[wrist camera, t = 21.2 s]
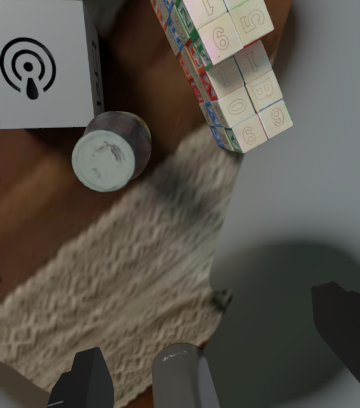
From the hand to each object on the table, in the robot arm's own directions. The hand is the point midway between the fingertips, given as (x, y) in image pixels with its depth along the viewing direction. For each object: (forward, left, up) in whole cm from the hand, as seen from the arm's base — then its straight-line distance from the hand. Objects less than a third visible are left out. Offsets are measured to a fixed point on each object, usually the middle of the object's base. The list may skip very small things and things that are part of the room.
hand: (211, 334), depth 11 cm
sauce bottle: (+6, +3, -30) cm, 31 cm away
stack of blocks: (+13, -9, -30) cm, 34 cm away
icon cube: (+14, +8, -30) cm, 34 cm away
